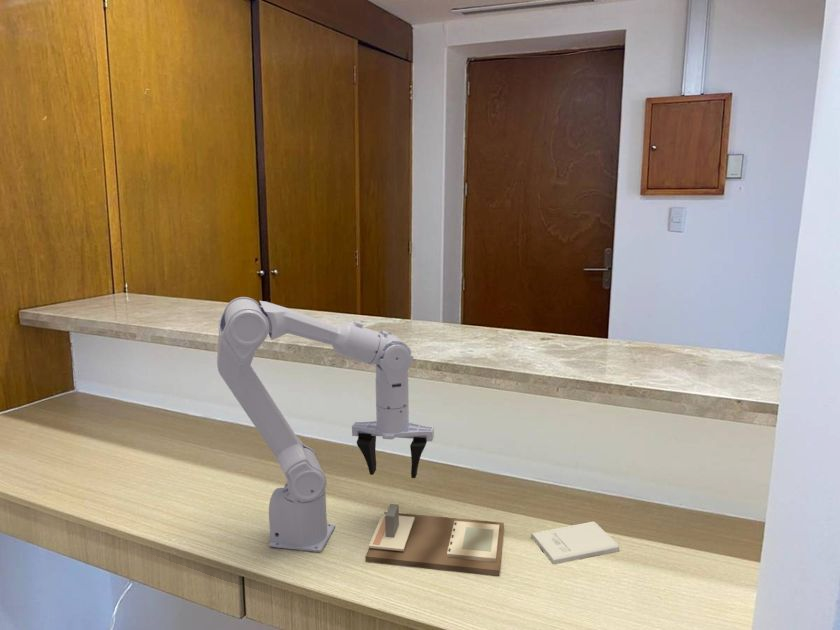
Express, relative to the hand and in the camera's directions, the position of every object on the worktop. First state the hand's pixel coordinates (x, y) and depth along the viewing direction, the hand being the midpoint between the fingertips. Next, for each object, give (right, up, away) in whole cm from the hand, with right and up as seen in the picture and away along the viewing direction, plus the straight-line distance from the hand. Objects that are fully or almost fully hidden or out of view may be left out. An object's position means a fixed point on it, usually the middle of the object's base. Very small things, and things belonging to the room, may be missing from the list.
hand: (393, 473), depth 115 cm
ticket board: (+8, -11, -5) cm, 14 cm away
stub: (0, -9, -4) cm, 10 cm away
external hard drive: (+31, -12, -5) cm, 34 cm away
